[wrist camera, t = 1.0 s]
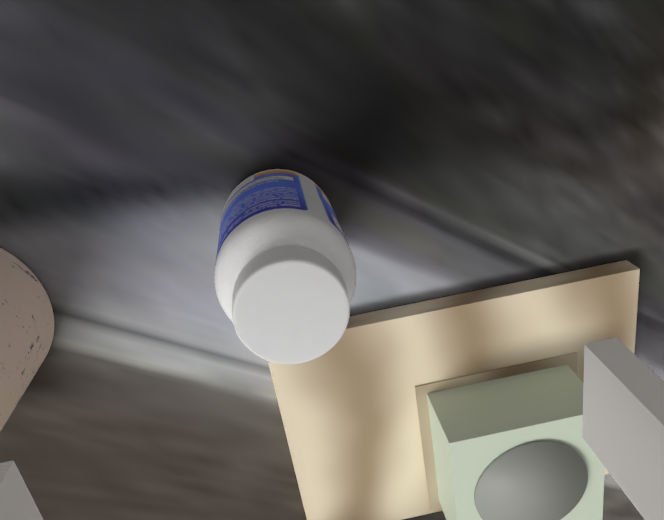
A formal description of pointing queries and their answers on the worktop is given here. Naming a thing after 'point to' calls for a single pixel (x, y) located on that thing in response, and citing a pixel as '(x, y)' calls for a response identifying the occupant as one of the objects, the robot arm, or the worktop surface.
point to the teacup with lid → (21, 330)
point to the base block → (515, 449)
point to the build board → (431, 381)
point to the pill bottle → (284, 267)
